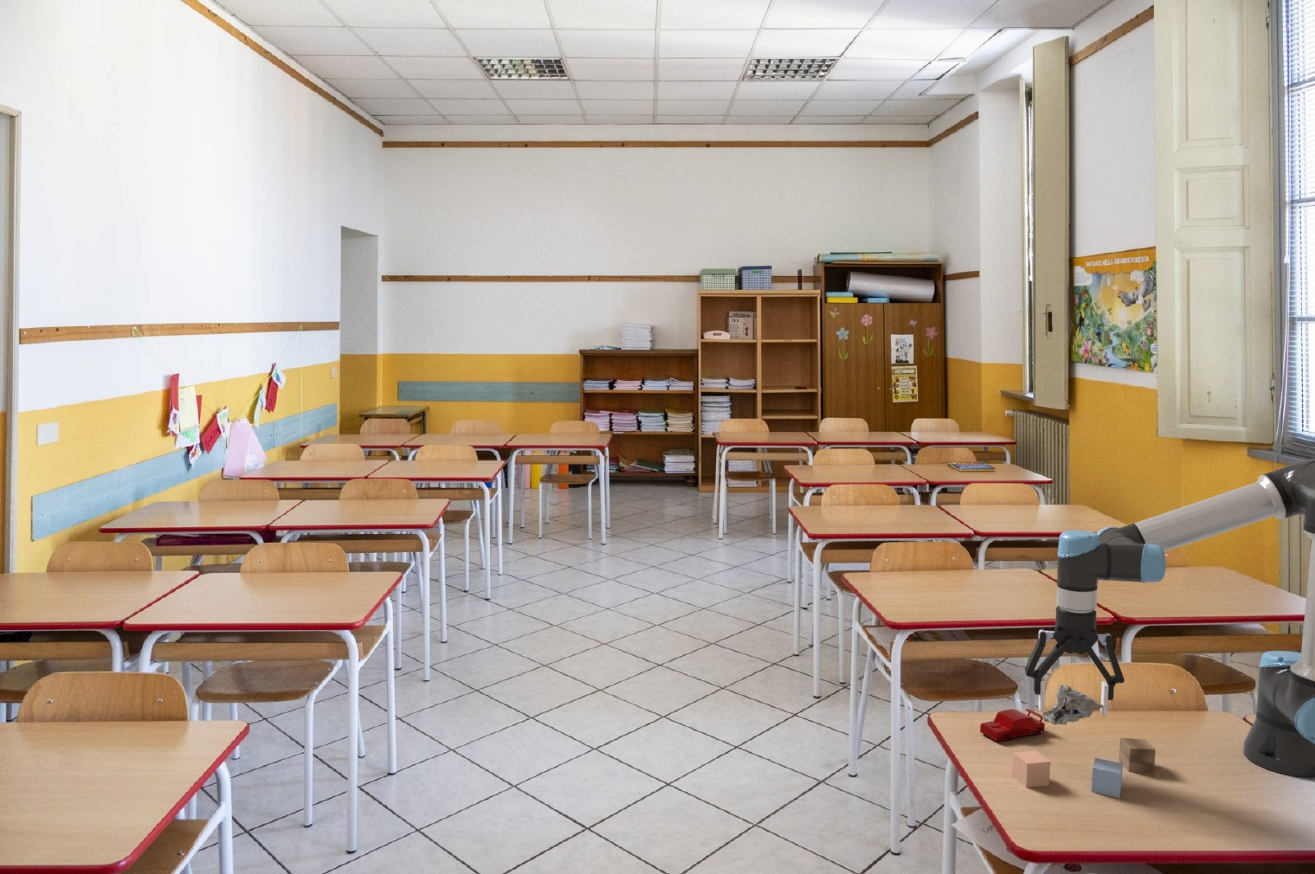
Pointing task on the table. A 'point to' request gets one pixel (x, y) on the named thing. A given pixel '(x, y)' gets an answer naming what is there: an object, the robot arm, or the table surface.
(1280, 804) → the table surface
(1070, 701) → the mineral specimen
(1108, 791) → the slate-blue cube
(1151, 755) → the walnut cube
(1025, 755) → the salmon-pink cube
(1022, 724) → the toy car
